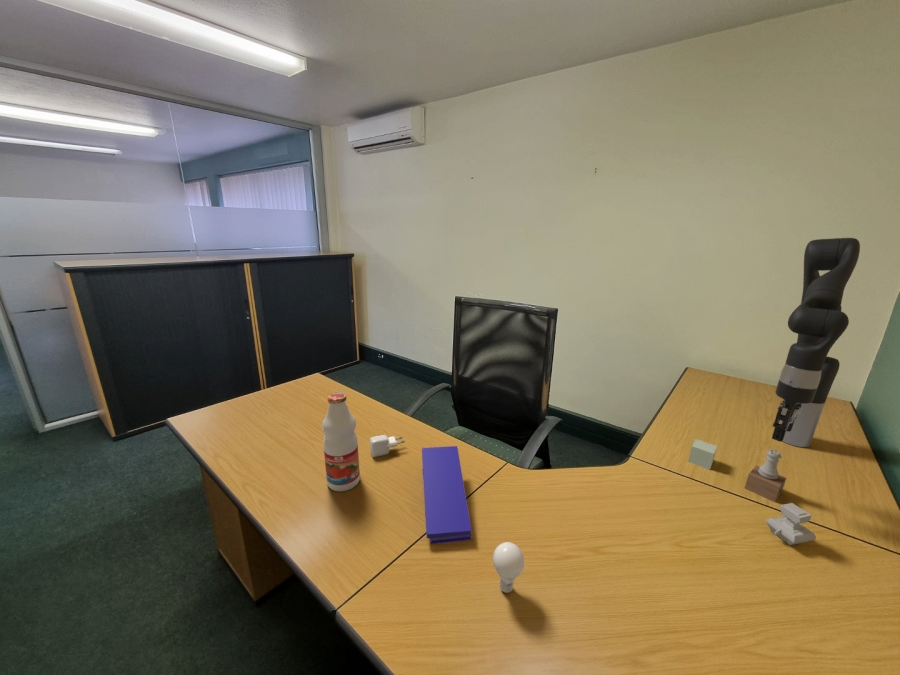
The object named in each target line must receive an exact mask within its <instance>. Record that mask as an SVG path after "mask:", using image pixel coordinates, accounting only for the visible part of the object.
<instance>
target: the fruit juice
mask: <svg viewBox="0 0 900 675" xmlns="http://www.w3.org/2000/svg"><path fill="white" fill-rule="evenodd" d="M327 403H328V407H327V412H326V414H325V417H324V419H323V421H322V424H321V428H322V432H323V435H324V438H323V454H324V464H325V465H324V466H325V474H326V484H327V486H328V488H329V489H330V490H332V491H333V492H334V491H335V492H346V491H350V490H351V489H353V488H355V487H356V486H357V485H358V483H359V481H360V478H361V476H360V474H361V472H360V460H359V458H360V457H359V441H358V437H357V433H356V432H355V430H356V428H357V427H356V426H357V422H356V418H355V416H354V414H352V413H351V410H350V409H349V406H348V405H347V395H346V393H344V392H334V393H331V394H329V395H328V396H327Z"/></svg>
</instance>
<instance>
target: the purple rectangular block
mask: <svg viewBox="0 0 900 675" xmlns="http://www.w3.org/2000/svg"><path fill="white" fill-rule="evenodd" d="M421 460H422V477H423V478H422V479H423V493H424V494H423V495H424V511H425V512H424V513H425V514H424V516H425V530H426V532H425V533H426V539H429V540H430V545H434V544H444V543H452V542H453V543H454V542H463V541H470V540H472V527H471V526H472V524H471V520H470V519H471V518H470V512H469V508H468V502H467V496H466V495H467V494H466V490H465V485H464V478H463V472H462V465H461V460H460V454H459V448H458V445H453V446H435V447H434V446H433V447H422V448H421Z"/></svg>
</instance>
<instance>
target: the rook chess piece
mask: <svg viewBox="0 0 900 675" xmlns="http://www.w3.org/2000/svg"><path fill="white" fill-rule="evenodd" d="M766 454H767V456H765V457H766V460H765V461H764V463H763V464H762V465H760V466H759V470H758V472H759V474H760V475H761V476H763V477H765V478H767V479H771V480H775V479H777V478H778V474H779V472H778V469H777V468H778V463H780V460H779V459H781V458H782V455H781V454H782V453H781V451H779V450H778V451H777V449H773V448H771V449H768V451H766Z"/></svg>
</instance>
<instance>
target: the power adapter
mask: <svg viewBox="0 0 900 675" xmlns="http://www.w3.org/2000/svg"><path fill="white" fill-rule="evenodd" d="M401 439H403V436H399V437H398V436H397V437H395V436H394V435H393V436H392V435H391V436H389V437H388V436H387V434H380V435H376V436H371V437H370V438H369V446H370V447H369V449H370V454H371V455H372V457H374V458H375V457H380V456H384V455H385V456H386V455H388V454H389V453H390V448H394V447H398V445H399V444H403V443H405V440H401ZM397 440H400V441H397Z"/></svg>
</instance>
